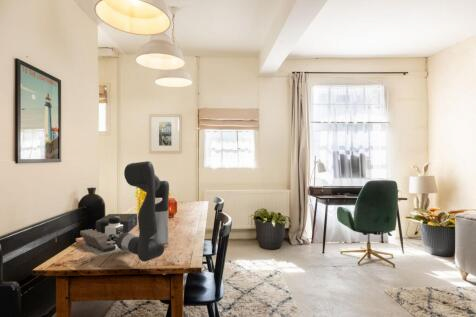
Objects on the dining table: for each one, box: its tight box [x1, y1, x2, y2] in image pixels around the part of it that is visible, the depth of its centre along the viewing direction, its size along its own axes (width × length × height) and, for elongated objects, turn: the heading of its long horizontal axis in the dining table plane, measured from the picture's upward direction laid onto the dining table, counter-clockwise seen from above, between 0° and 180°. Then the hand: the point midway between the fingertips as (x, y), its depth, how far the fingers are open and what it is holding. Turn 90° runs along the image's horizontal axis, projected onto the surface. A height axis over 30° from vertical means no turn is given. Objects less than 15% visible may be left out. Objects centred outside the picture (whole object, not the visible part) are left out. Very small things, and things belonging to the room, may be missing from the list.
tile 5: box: [75, 236, 87, 245], centre depth 161 cm, size 2×6×12 cm
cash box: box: [95, 213, 138, 234], centre depth 194 cm, size 25×20×8 cm
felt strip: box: [80, 244, 123, 256], centre depth 150 cm, size 24×10×1 cm, turn 50°
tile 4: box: [79, 228, 94, 246], centre depth 157 cm, size 2×6×12 cm
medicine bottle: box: [104, 217, 123, 237], centre depth 171 cm, size 7×7×12 cm
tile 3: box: [84, 230, 98, 248], centre depth 154 cm, size 2×6×12 cm
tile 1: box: [93, 233, 117, 252], centre depth 148 cm, size 2×6×12 cm
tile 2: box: [88, 232, 103, 250], centre depth 151 cm, size 2×6×12 cm
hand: (110, 236), depth 144 cm, fingers closed
